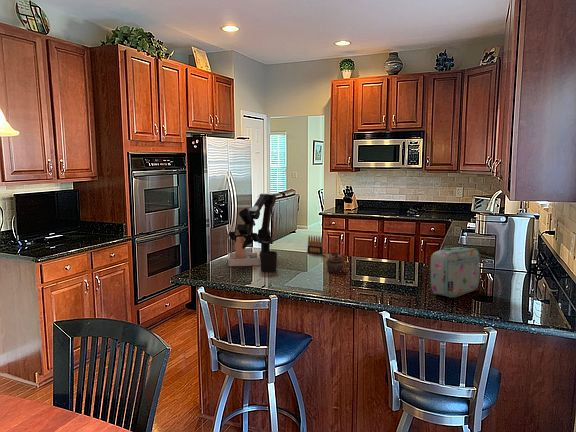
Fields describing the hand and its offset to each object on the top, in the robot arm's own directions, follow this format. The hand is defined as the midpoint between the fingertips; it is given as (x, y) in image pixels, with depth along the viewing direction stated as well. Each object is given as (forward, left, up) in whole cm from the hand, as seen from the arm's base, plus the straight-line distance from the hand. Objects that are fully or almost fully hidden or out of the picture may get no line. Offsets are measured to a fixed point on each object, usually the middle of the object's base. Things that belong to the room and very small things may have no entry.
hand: (239, 248), depth 256 cm
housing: (-2, +3, -9) cm, 10 cm away
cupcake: (+25, +52, -9) cm, 58 cm away
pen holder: (+20, +16, -9) cm, 27 cm away
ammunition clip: (-22, +50, -9) cm, 55 cm away
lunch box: (+73, +96, -9) cm, 121 cm away
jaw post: (-1, +1, -7) cm, 7 cm away
